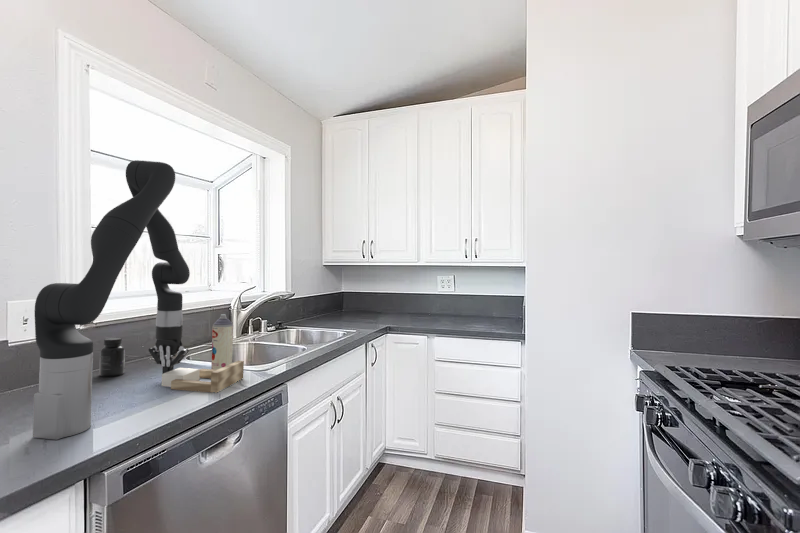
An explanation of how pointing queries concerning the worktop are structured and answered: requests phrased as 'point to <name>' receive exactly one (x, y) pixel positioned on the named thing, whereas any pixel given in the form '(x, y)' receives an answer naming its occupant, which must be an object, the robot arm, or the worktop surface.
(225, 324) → the aerosol can
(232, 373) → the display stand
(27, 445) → the worktop surface
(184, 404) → the worktop surface
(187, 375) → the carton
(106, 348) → the supplement bottle
